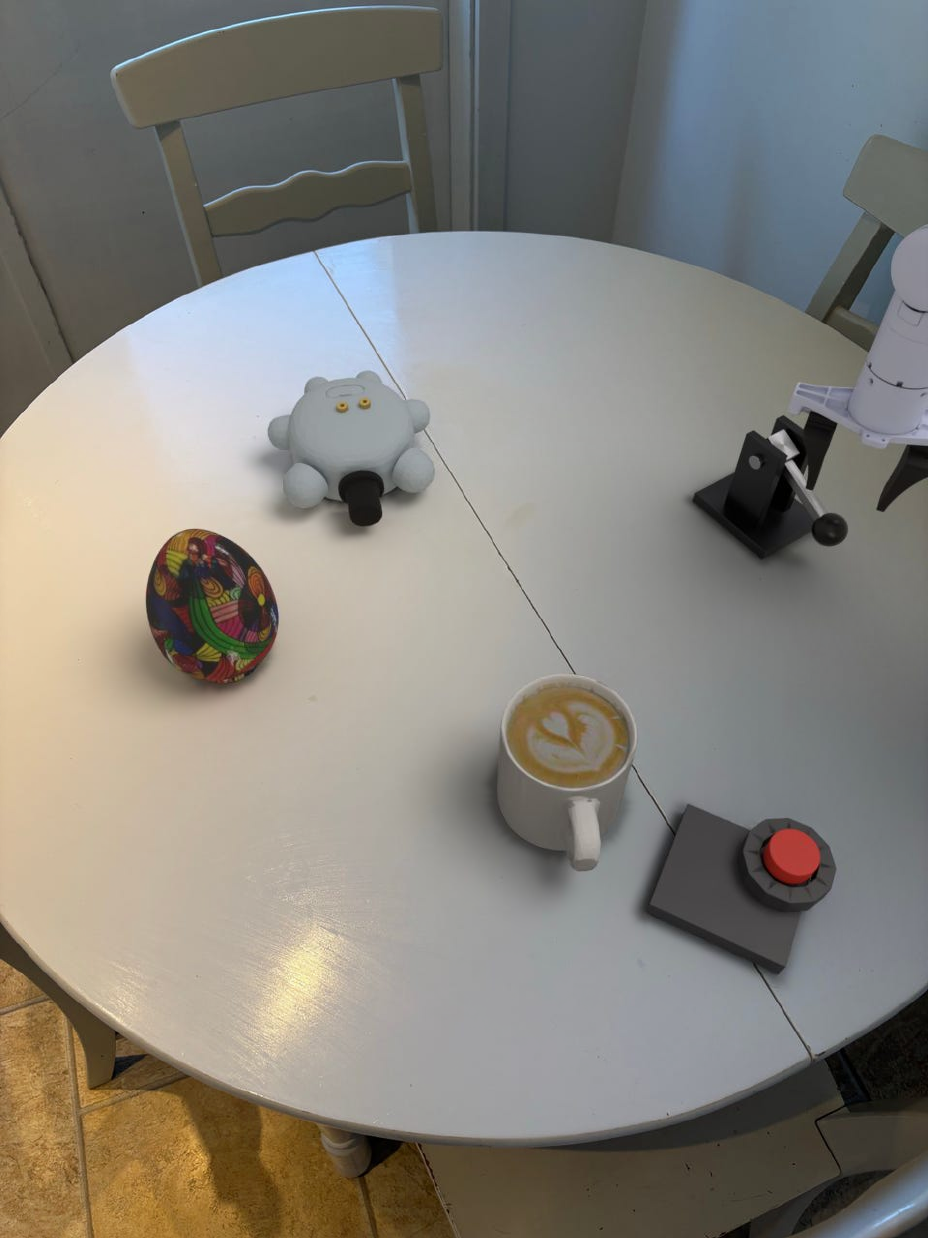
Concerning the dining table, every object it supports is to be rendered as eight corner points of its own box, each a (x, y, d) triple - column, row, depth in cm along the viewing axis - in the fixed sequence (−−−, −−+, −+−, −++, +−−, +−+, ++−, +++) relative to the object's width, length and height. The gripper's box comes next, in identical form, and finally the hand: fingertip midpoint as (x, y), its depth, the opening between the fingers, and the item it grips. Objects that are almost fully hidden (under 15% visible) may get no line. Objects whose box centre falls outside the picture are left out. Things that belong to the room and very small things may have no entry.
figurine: (269, 418, 101) (285, 558, 90) (255, 359, 94) (271, 505, 83) (420, 398, 103) (452, 533, 92) (418, 339, 96) (452, 479, 85)
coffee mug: (499, 736, 75) (503, 669, 68) (617, 743, 75) (634, 676, 67) (492, 890, 67) (495, 833, 59) (624, 898, 67) (645, 842, 59)
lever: (840, 543, 86) (861, 530, 83) (817, 556, 85) (838, 544, 82) (771, 440, 87) (790, 424, 84) (747, 452, 86) (766, 437, 83)
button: (818, 851, 66) (825, 841, 64) (806, 893, 64) (814, 884, 62) (770, 830, 67) (776, 820, 65) (757, 871, 65) (763, 862, 63)
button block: (828, 859, 69) (843, 840, 66) (796, 983, 63) (811, 967, 60) (688, 800, 72) (697, 779, 69) (645, 912, 66) (653, 894, 63)
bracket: (818, 527, 90) (852, 449, 82) (762, 560, 88) (791, 483, 80) (747, 471, 96) (773, 393, 88) (692, 501, 93) (713, 423, 85)
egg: (220, 724, 76) (175, 616, 64) (144, 659, 81) (89, 546, 69) (311, 648, 81) (285, 535, 69) (235, 590, 86) (198, 474, 74)
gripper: (799, 370, 69) (755, 496, 80) (997, 422, 65) (923, 548, 76) (819, 322, 73) (774, 449, 84) (1007, 369, 69) (935, 496, 80)
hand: (846, 493), depth 80 cm, fingers open, 6 cm apart
